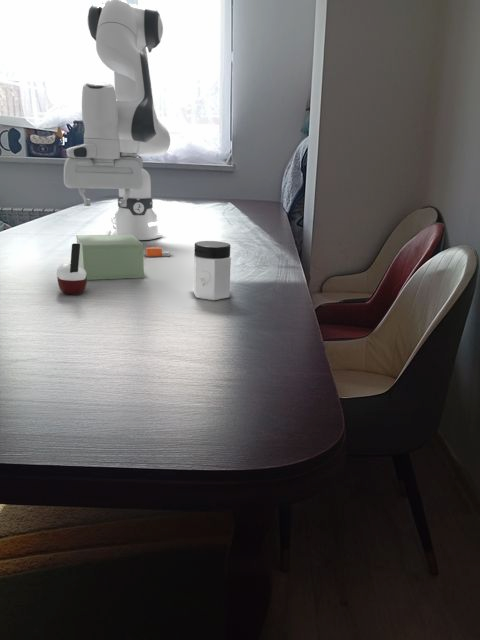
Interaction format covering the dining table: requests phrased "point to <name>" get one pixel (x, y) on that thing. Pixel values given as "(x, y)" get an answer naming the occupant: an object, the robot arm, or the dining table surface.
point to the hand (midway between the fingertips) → (105, 206)
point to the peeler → (156, 252)
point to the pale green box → (111, 256)
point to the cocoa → (72, 274)
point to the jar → (212, 270)
